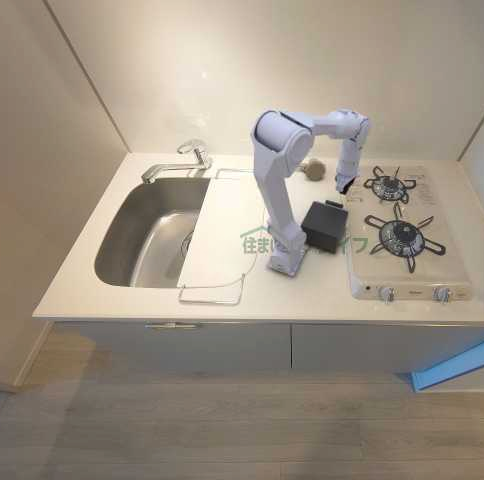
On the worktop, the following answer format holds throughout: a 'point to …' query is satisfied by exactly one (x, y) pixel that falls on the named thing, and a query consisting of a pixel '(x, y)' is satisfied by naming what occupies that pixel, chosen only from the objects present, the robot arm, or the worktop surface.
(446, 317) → the worktop surface
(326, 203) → the drawer
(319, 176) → the mug
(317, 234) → the cabinet
